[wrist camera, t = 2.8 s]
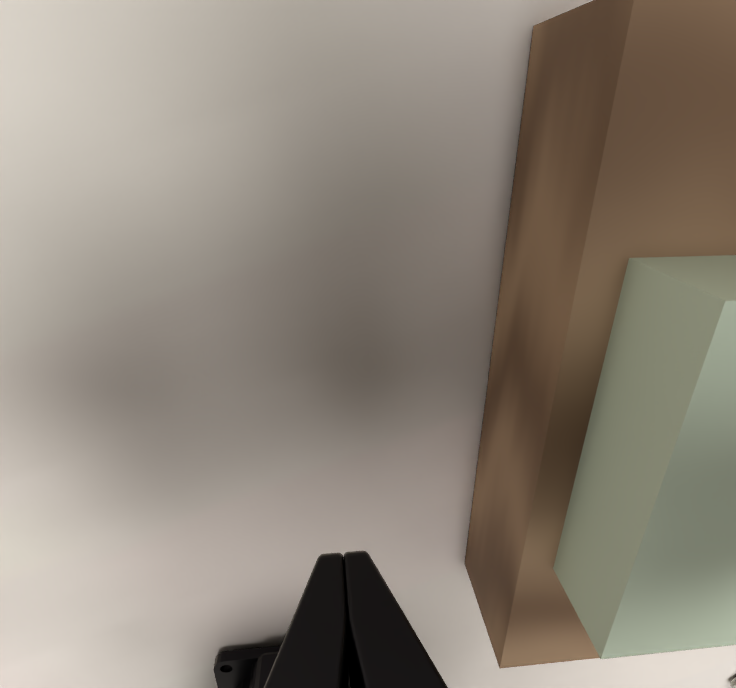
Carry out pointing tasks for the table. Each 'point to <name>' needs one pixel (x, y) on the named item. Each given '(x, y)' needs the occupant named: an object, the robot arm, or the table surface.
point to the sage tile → (660, 468)
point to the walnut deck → (588, 271)
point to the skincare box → (733, 683)
